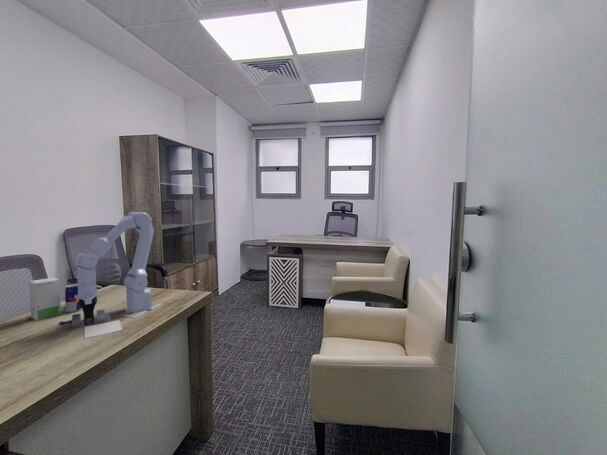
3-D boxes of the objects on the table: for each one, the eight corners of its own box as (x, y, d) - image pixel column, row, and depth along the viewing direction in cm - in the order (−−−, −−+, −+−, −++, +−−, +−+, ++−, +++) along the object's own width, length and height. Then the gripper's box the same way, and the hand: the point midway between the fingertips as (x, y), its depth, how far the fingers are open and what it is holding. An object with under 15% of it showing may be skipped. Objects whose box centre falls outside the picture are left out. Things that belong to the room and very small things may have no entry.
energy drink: (72, 315, 119) (71, 287, 118) (62, 313, 120) (61, 286, 119) (84, 310, 125) (83, 284, 124) (75, 309, 126) (73, 283, 125)
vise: (109, 316, 119) (109, 308, 118) (111, 321, 113) (110, 313, 113) (59, 326, 109) (59, 317, 108) (58, 332, 103) (57, 323, 103)
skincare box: (35, 321, 112) (33, 283, 111) (30, 317, 116) (27, 281, 115) (62, 314, 120) (59, 279, 118) (56, 311, 123) (53, 276, 122)
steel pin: (94, 319, 114) (93, 302, 113) (94, 322, 111) (93, 305, 111) (84, 321, 112) (83, 304, 111) (84, 324, 109) (83, 306, 109)
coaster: (119, 321, 113) (119, 320, 113) (122, 331, 105) (122, 329, 104) (84, 329, 106) (84, 327, 106) (84, 340, 98) (84, 338, 98)
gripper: (74, 280, 113) (76, 313, 114) (73, 289, 102) (75, 325, 103) (96, 278, 118) (97, 309, 119) (97, 286, 106) (99, 320, 108)
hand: (88, 316), depth 111 cm, fingers closed on steel pin, 3 cm apart
